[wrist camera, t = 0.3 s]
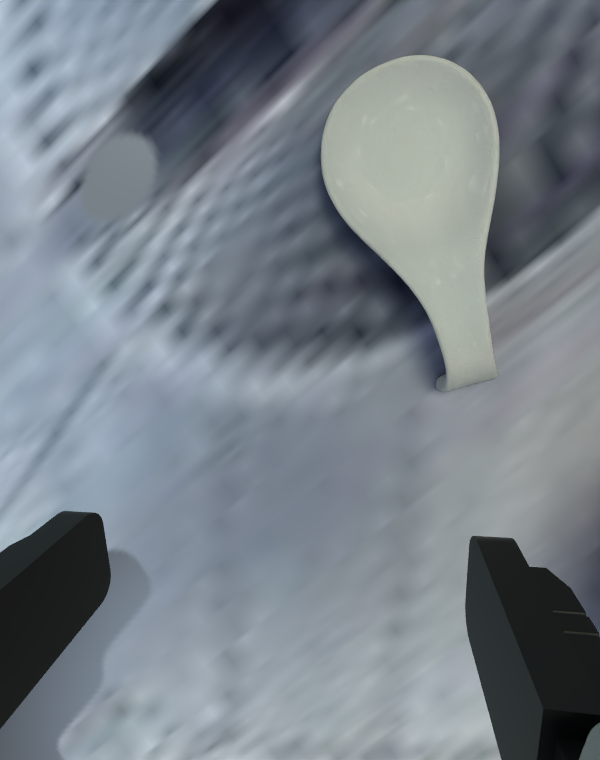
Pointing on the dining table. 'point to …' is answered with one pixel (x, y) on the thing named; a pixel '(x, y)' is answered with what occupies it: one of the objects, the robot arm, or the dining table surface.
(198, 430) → the dining table surface
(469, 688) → the dining table surface
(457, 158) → the spoon rest
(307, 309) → the dining table surface
